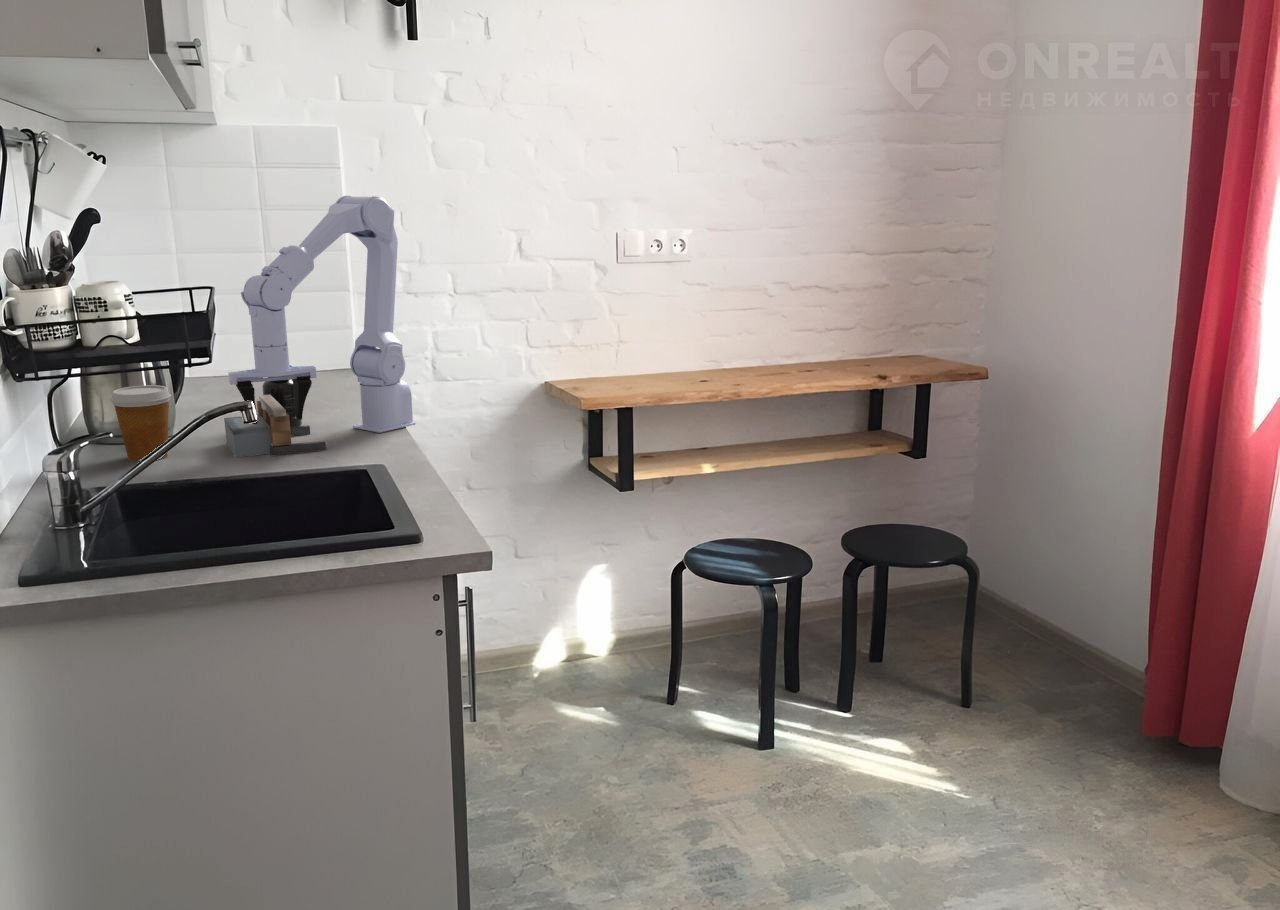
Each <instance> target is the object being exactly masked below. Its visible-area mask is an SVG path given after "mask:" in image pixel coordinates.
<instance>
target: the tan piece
mask: <svg viewBox="0 0 1280 910" xmlns="http://www.w3.org/2000/svg"><path fill="white" fill-rule="evenodd" d="M258 398H259V399H258V400H257V401H256V410H257V411H256V412H257V415H260V416H261V417H262V418H263V419H264V420H265V422H266V423H267V424H268V425H269V426H270V430H271V442H272V446H279V445H288V444H292V436H291V432H290V420H289V415H288V414H287V413H286V410H285V409H284V408H283V407H282V406H281V405H280V404H279V403H278V402H277V401H276V400H275V399H274V398H273V397H272V396H271V395H263V394H259V395H258Z"/></svg>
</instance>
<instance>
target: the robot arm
mask: <svg viewBox="0 0 1280 910" xmlns="http://www.w3.org/2000/svg"><path fill="white" fill-rule="evenodd" d="M394 222H395V210H394V208H393V207H392V206H391V205H390V204H389V202H387V200H386V199H385V198H383V197H382V196H378V195H375V196H374V195H373V196H351V195H343V196H341V197H339V198H338V199H337V200H336V202H334V203H333V204H331V205H330V206H329V208H328V212H327V213H326V215H325V216H324V217H323V218H322V219H321V220H320V221H319V222H318V224H317V225H316V226H315V227H314V228H313V229H312V231H311V232H309V234H308V235H307V236H306V237H305V238H304V239H303V240H302V241H301V242H300V244H299V245H292V244H291V245H288V246H287V247H286V246H283V247H281V249H279V250H278V252H279V255H278V256H277V257H276V258H275V259H273V261H271V263H269V264H268V265H265V266H264V267H263V268H261V273H260V274H257V275H252V276H250V277H249V278H248V279H247V280H246V282H245V283H244V287H243V291H241V292H240V295H241V296H240V297H241V299H242V301H243V302H244V304H245V305H246V306H247V307H248V314H249V316H250V323H251V324H250V325H251V335H252V336H251V337H252V345H253V346H252V347H253V356H254V357H253V358H254V368H253V369H244V370H237V371H228V381H229V384H230V385H232V386H236V388H237V390H238V391H239V393H240V396H241V397H242V399H243V401H244V402H245V401H247V400H252V401H253V403H254V405H255V406H256V401H255V400H256V398H255V396H256V395H255V387H254V386H253V383H260V382H263V383H264V382H265V381H275V380H287V379H293V386H294V393H295V412H296V418H297V419H298V420H303V413H304V407H305V402H306V400H307V397H308V394H309V391H310V388H311V387H312V383H313V381H312V380H311V379H317V376H318V375H317V368H316V367H317V366H315V365H304V366H301V365H300V366H297V365H296V366H292V367H289V365H290V359H289V358H290V356H289V355H290V354H289V347H288V345H289V344H288V333H287V321H286V320H287V319H286V309H285V307H286V306H289V304H290V302H291V299H292V293H293V291H294V290H295V289H296V288H297V287H298V286H299V285H300V284H301V283H302V281H304V280H305V279H306V278H307V277H308V276H309V275H310V274H311V273H312V272H313V271H314V268H315V259H316V258H317V257H319V255H321V254H322V253H323V252H324V251H325V250H326V249H328V248H329V247H330V246H331V245H332V244H333V243H334V242H335V241H337V240H338V239H339V238H341V236H342V235H343V234H350V235H352V236H354V237H355V238H357V239H358V240H359V241H360V242H361V243H362V244H363V245H364V247H365V248H366V249H367V255H366V272H365V273H366V274H365V275H366V276H365V277H366V278H365V298H364V299H365V300H364V317H363V318H364V319H363V331H362V333H360V335H358V337H357V338H356V339H355V341H354V348H353V351H352V354H351V356H350V361H349V365H350V366H349V367H350V369H351V371H352V373H353V374H354V376H355V377H356V378H357V382H358V383H359V391H360V392H359V393H360V407H361V408H360V409H361V423H356V424H352V428H354V429H357V430H358V429H359V430H363V431H368V432H373V433H377V434H378V433H379V434H380V433H385V432H389V431H394V430H398V429H402V428H407V427H410V426H415V425H416V424H417V423H416V421H414V419H413V417H414V416H413V397H412V391H411V388H410V386H409V384H408V382H406V381H405V380H403V379H402V377H403V376H404V373H405V372H406V371H405V370H406V361H405V357H404V354H403V343H402V342H401V341H400V340H399V338H398V337H397V336H395V334H394V322H395V303H396V302H395V301H396V283H397V267H398V266H397V261H398V247H399V246H398V245H399V244H398V243H399V242H398V236H397V232H396V228H395V225H394V224H395V223H394ZM279 376H283V377H279ZM268 377H271V378H268ZM253 424H257V422H256V423H253ZM401 424H402V425H403V427H402V425H401Z"/></svg>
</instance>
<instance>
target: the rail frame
mask: <svg viewBox="0 0 1280 910" xmlns="http://www.w3.org/2000/svg"><path fill="white" fill-rule="evenodd" d="M290 432H291V437H294V436H295V437H296V436H305V435H311V426H310V424H308V425H307V424H306V425H301V426H295V427H290ZM326 450H327V441H326V440H318V441H317V440H315V441H306V442H305V441H304V442H297V443H291V444H288V445H279V446H273V445H272V446H270V454H269V455H270V457H274V456H282V455H291V454H292V455H293V454H300V453H311V452H317V451H318V452H319V451H326Z"/></svg>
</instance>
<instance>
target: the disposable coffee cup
mask: <svg viewBox="0 0 1280 910" xmlns="http://www.w3.org/2000/svg"><path fill="white" fill-rule="evenodd" d="M111 396H112V397H110V402H111V403H112V405H113V406H114V408H115V409H114V410H115V413H116V417H117V421H118V425H119V430H120V433H121V435H122V440H123V444H124V447H125V451H126V455H127V460H129V461H131V462H135V463H136V462H137V461H139V460H140V459H142V458H143V457H144V456H146V455H148V454H149V453H150V452H152V451H153V450H154V449H155V448H157V447H158V446H160V445H161V444H163V443H164V442H165V441H166V440H168V441H169V411H170V410H169V408H170V407H169V406H170V405H169V404H170V400H171V397H172V394H171V393H170V392H169V388H168V387H167V386H164V385H156V384H155V385H151V384H150V385H149V384H148V385H144V384H143V385H132V386H126V387H121V388H118V389H115V390H112V395H111ZM168 456H169V454H168V453H166V454H165V455H164V456H163V457H162V458H161V459H160V460H162V459H164V458H165V459H166V458H168Z"/></svg>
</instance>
